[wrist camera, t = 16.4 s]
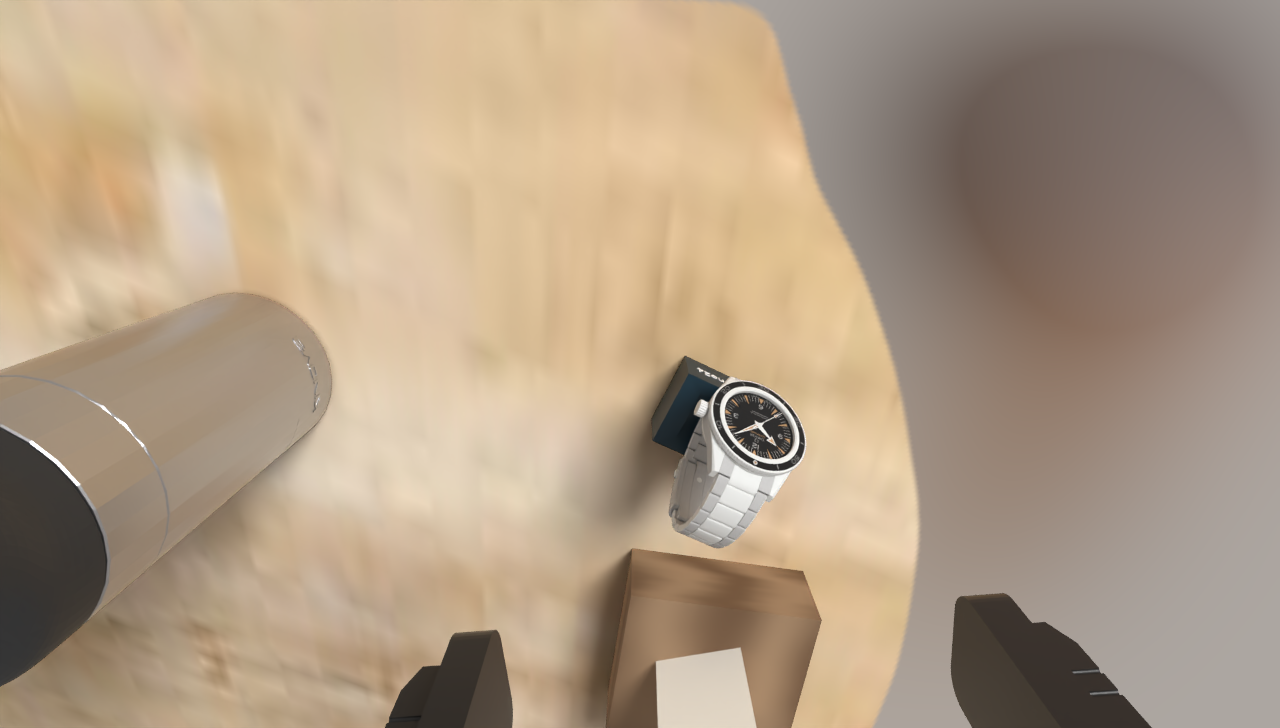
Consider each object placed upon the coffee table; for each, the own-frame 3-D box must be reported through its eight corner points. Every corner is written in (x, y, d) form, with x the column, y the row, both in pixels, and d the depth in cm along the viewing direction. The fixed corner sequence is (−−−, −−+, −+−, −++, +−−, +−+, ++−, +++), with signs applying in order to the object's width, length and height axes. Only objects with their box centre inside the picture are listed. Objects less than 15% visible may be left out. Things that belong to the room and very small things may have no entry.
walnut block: (608, 683, 46) (604, 745, 41) (632, 545, 43) (631, 595, 38) (766, 702, 47) (780, 766, 42) (801, 568, 43) (821, 620, 38)
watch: (786, 366, 39) (840, 448, 28) (719, 479, 41) (747, 594, 30) (699, 325, 38) (722, 393, 27) (636, 442, 40) (635, 547, 30)
